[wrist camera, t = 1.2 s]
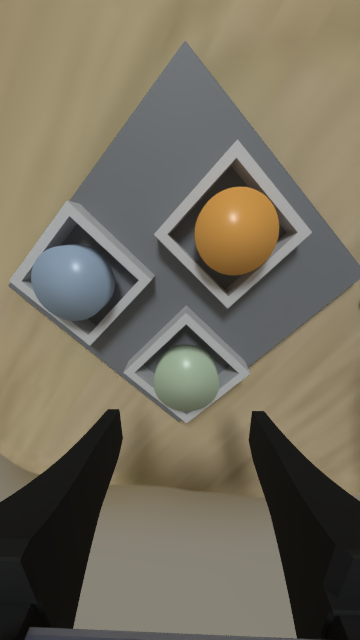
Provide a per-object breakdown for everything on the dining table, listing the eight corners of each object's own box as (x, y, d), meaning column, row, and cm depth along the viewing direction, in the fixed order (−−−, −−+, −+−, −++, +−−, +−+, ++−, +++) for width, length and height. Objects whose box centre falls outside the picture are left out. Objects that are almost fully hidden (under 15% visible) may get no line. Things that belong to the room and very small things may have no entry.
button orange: (284, 232, 15) (296, 232, 13) (228, 285, 16) (232, 291, 14) (234, 173, 14) (241, 165, 12) (178, 234, 15) (177, 234, 13)
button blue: (128, 279, 16) (122, 284, 14) (87, 325, 17) (77, 334, 16) (72, 228, 15) (59, 227, 13) (33, 280, 16) (17, 285, 15)
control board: (355, 271, 18) (385, 278, 15) (179, 412, 23) (178, 437, 20) (185, 55, 14) (184, 12, 11) (18, 282, 19) (-11, 291, 16)
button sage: (229, 371, 18) (233, 385, 17) (186, 406, 20) (186, 421, 18) (186, 332, 17) (185, 342, 16) (143, 371, 18) (139, 384, 17)
